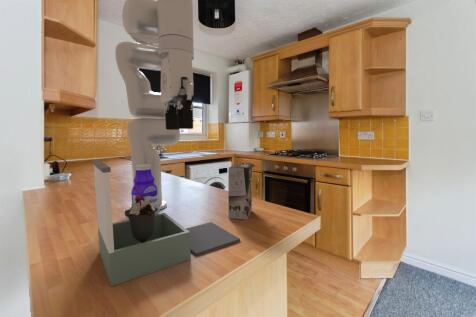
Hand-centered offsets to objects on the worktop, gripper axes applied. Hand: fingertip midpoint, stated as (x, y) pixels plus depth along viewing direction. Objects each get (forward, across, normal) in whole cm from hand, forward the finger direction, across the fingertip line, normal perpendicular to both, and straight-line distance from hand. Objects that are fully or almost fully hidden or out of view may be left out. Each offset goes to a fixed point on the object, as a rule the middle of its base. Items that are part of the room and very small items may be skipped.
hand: (178, 129), depth 54 cm
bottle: (+28, -19, -5) cm, 34 cm away
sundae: (+28, +1, -9) cm, 29 cm away
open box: (+27, +1, -9) cm, 29 cm away
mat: (+27, -1, +6) cm, 28 cm away
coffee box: (+28, -11, +23) cm, 38 cm away
